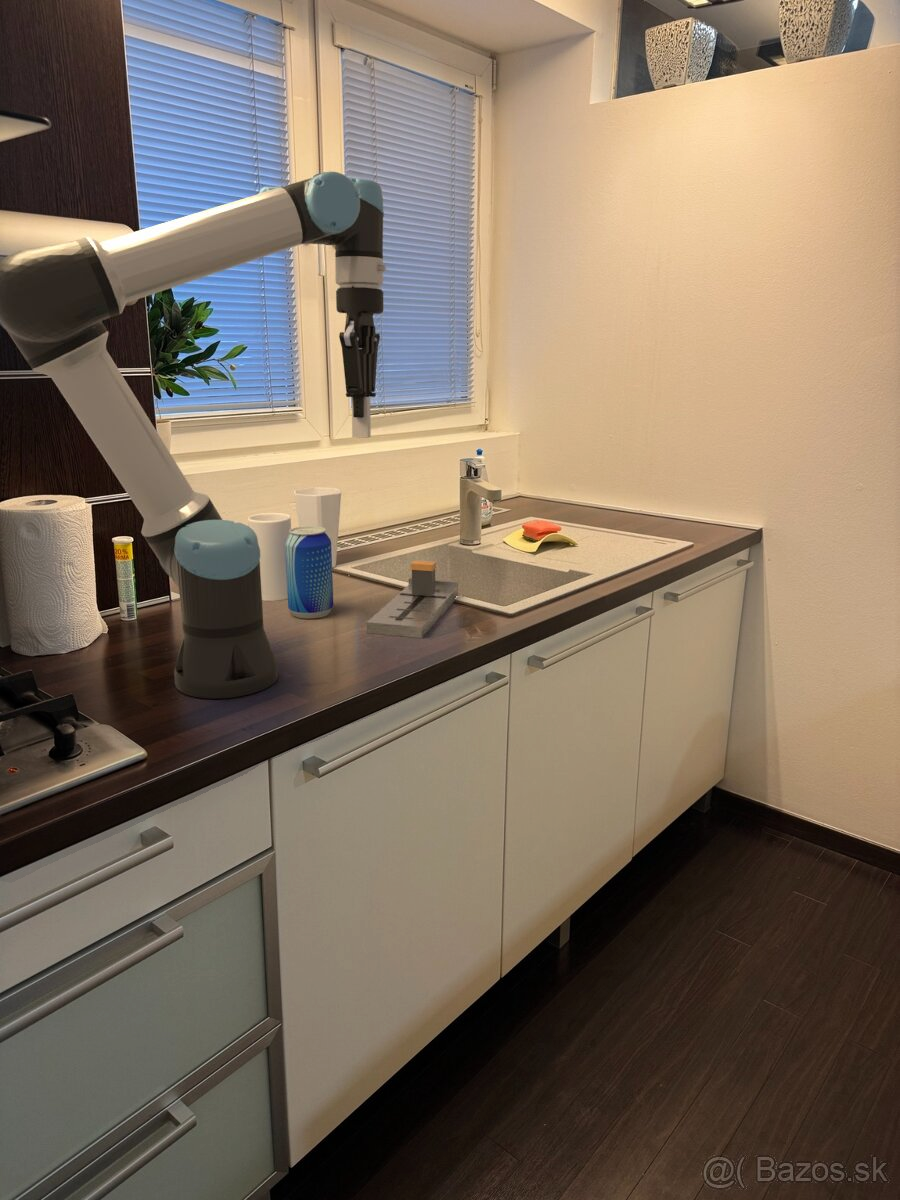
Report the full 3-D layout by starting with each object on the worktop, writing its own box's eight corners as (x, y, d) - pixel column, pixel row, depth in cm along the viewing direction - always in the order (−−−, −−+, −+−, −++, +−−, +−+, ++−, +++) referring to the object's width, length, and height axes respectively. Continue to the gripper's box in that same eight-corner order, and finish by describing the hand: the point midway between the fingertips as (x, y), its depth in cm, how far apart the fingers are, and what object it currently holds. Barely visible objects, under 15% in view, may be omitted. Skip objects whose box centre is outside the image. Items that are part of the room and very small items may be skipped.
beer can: (316, 603, 168) (312, 523, 164) (342, 613, 162) (340, 530, 158) (279, 612, 163) (275, 529, 158) (305, 623, 157) (301, 537, 152)
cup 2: (311, 574, 189) (308, 497, 184) (287, 565, 196) (283, 490, 191) (353, 566, 196) (351, 491, 191) (328, 557, 203) (325, 485, 198)
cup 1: (285, 602, 169) (281, 521, 164) (246, 599, 171) (240, 520, 166) (300, 590, 177) (296, 513, 172) (262, 588, 178) (258, 511, 174)
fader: (432, 596, 165) (432, 565, 164) (411, 594, 166) (411, 563, 165) (435, 592, 168) (435, 561, 166) (415, 591, 169) (415, 560, 167)
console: (421, 638, 149) (421, 620, 148) (367, 632, 152) (366, 615, 151) (458, 596, 173) (458, 581, 173) (410, 592, 176) (410, 577, 175)
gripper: (368, 284, 131) (369, 442, 137) (394, 290, 143) (394, 434, 149) (322, 284, 132) (325, 440, 139) (351, 289, 144) (353, 432, 151)
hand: (361, 437), depth 144 cm, fingers closed
